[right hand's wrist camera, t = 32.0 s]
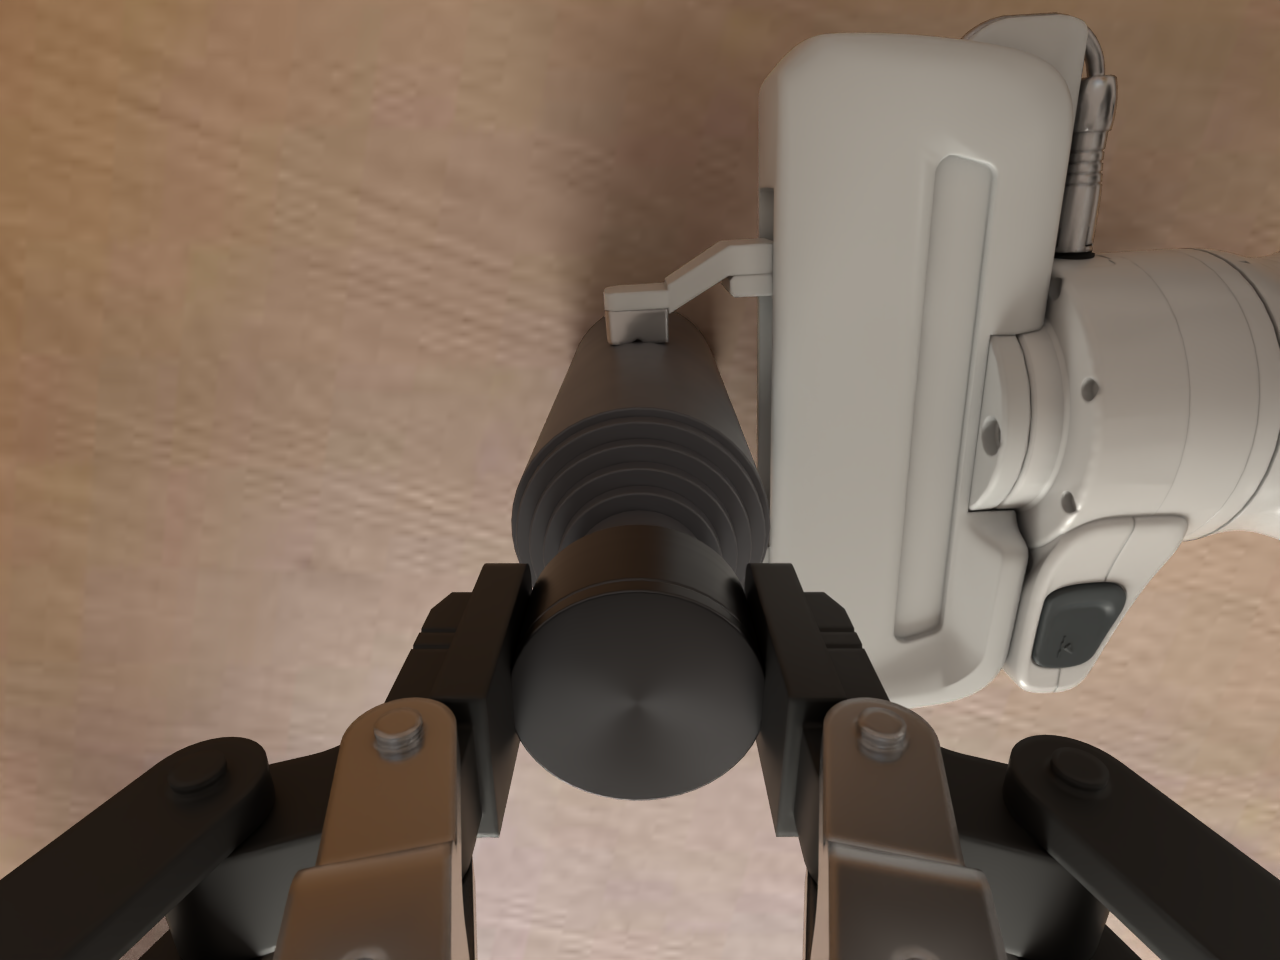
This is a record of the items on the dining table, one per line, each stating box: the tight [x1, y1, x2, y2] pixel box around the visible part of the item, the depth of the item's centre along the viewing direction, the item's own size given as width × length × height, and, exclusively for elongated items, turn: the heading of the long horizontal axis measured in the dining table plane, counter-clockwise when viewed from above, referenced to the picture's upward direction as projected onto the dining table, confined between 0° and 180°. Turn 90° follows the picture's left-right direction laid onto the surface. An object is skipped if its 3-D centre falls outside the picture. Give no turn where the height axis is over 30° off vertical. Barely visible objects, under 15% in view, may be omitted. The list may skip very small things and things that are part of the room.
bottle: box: [511, 312, 770, 590], centre depth 20 cm, size 6×6×18 cm
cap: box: [511, 524, 765, 801], centre depth 11 cm, size 4×4×2 cm
